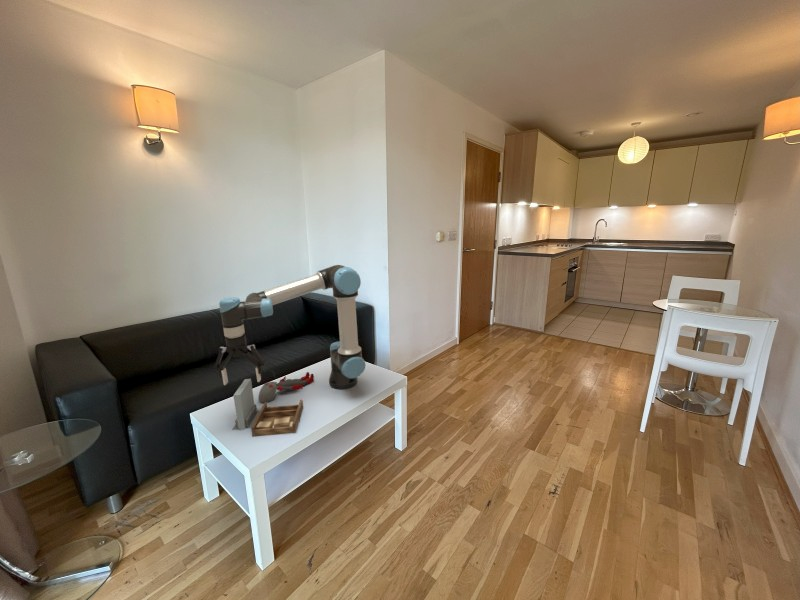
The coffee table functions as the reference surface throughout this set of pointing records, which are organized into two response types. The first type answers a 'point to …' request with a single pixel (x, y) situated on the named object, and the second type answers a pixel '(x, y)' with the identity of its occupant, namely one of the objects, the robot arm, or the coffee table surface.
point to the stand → (249, 418)
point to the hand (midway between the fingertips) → (242, 382)
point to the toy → (283, 386)
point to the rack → (277, 413)
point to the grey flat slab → (243, 402)
